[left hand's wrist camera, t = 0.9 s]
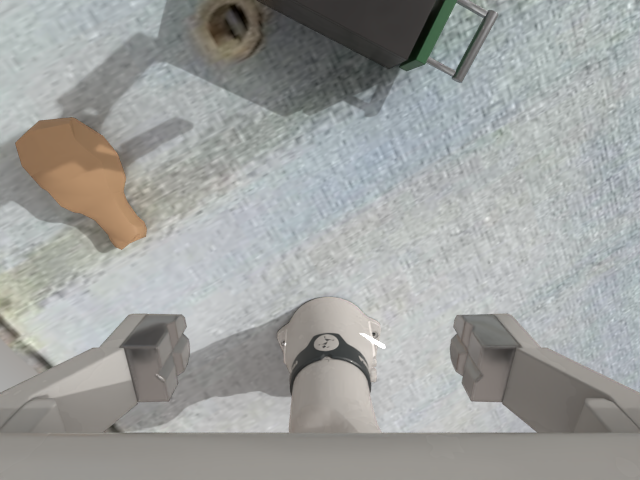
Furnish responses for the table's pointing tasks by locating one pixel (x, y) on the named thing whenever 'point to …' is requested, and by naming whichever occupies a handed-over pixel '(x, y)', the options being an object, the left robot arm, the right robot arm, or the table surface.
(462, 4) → the drawer
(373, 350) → the left robot arm
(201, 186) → the table surface
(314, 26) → the dark grey box
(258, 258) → the table surface
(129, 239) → the squash
